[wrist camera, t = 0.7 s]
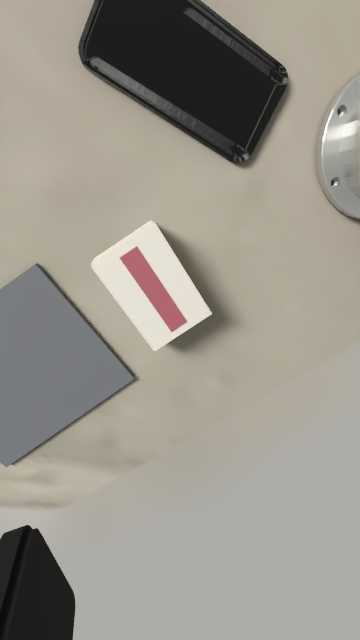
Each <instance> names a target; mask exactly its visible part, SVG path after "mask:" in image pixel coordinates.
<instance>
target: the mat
mask: <svg viewBox="0 0 360 640" xmlns="http://www.w3.org/2000/svg"><path fill="white" fill-rule="evenodd" d="M132 380H134V376H133V375H132V374H131V372H130V371H129V370H128V369H127V368H126V367H125V365H124V364H123V363H122V362H121V361H120V360H119V358H118V357H117V356H116V355H115V354H114V353H113V351H112V350H111V349H110V348H109V347H108V346H107V344H106V343H105V342H104V341H103V340H102V339H101V337H100V336H99V335H98V334H97V333H96V332H95V330H94V329H93V328H92V327H91V326H90V325H89V323H88V322H87V321H86V320H85V319H84V318H83V316H82V315H81V314H80V313H79V312H78V311H77V310H76V308H75V307H74V306H73V305H72V304H71V303H70V301H69V300H68V299H67V298H66V297H65V296H64V294H63V293H62V292H61V291H60V290H59V289H58V287H57V286H56V285H55V284H54V283H53V282H52V280H51V279H50V278H49V277H48V276H47V275H46V273H45V272H44V271H43V270H42V269H41V268H40V266H39V265H38V264H35V265H34V266H32V267H31V268H30V269H28V270H27V271H26V272H24V273H23V274H21V275H20V276H19V277H17V278H16V279H14V280H13V281H12V282H10V283H9V284H7V285H6V286H5V287H3V288H2V289H1V290H0V462H1V463H2V464H3V465H4V466H6V467H8V466H9V465H10V464H12V463H13V462H15V461H16V460H18V459H19V458H21V457H22V456H23V455H25V454H26V453H28V452H29V451H31V450H32V449H34V448H35V447H37V446H38V445H39V444H41V443H42V442H44V441H45V440H47V439H48V438H50V437H51V436H52V435H54V434H55V433H57V432H58V431H60V430H61V429H63V428H64V427H66V426H67V425H68V424H70V423H71V422H73V421H74V420H76V419H77V418H79V417H80V416H81V415H83V414H84V413H86V412H87V411H89V410H90V409H92V408H93V407H95V406H96V405H97V404H99V403H100V402H102V401H103V400H105V399H106V398H108V397H109V396H110V395H112V394H113V393H115V392H116V391H118V390H119V389H121V388H122V387H124V386H125V385H126V384H128V383H129V382H131V381H132Z"/></svg>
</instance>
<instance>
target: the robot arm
mask: <svg viewBox="0 0 360 640" xmlns="http://www.w3.org/2000/svg"><path fill="white" fill-rule="evenodd" d="M337 113H338V114H337ZM316 166H317V171H318V177H319V180H320V183H321V186H322V188H323V191H324V193H325V194H326V196H327V197H328V199H329V201H330V202H331V203H332V204H333V205H334V206H335V207H336V208H337V209H338V210H339V211H341V212H343V213H344V214H346V215H347V216H350V217H353V218H356V219H360V74H359V75H357V76H356V77H354V78H353V79H352V80H350V81H349V82H348V83H347V84H346V85H345V86H344V87H343V88H342V89H341V90H340V92H339V93H338V94H337V96H336V97H335V99H334V100H333V102H332V103H331V105H330V106H329V109H328V111H327V113H326V115H325V117H324V119H323V122H322V125H321V128H320V132H319V135H318V142H317V148H316ZM331 182H332V183H331ZM74 616H75V597H74V593H73V590H72V589H71V587H70V585H69V583H68V581H67V579H66V578H65V576H64V574H63V572H62V571H61V569H60V567H59V565H58V563H57V562H56V560H55V558H54V556H53V554H52V553H51V551H50V549H49V547H48V545H47V544H46V542H45V540H44V538H43V536H42V535H41V533H40V532H39V530H38V529H37V528H36V529H32V528H31V527H30V526H29V525H26V526H23V527H20V528H18V529H15V530H12V531H9V532H6V533H4V534H3V535H2V537H1V539H0V640H72V639H73V627H74Z"/></svg>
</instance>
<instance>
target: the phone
mask: <svg viewBox="0 0 360 640" xmlns="http://www.w3.org/2000/svg"><path fill="white" fill-rule="evenodd" d="M78 48H79V55H80V59H81V61H82V64H83V65H84V67H85V68H86V69H87V70H88V71H89V72H91V73H93V74H94V75H96V76H97V77H99V78H100V79H102V80H104V81H105V82H107V83H108V84H110V85H111V86H113V87H115V88H116V89H118V90H119V91H121V92H122V93H124V94H126V95H127V96H129V97H130V98H132V99H133V100H135V101H137V102H138V103H140V104H141V105H143V106H144V107H146V108H148V109H149V110H151V111H152V112H154V113H155V114H157V115H159V116H160V117H162V118H163V119H165V120H166V121H168V122H170V123H171V124H173V125H174V126H176V127H177V128H179V129H181V130H182V131H184V132H185V133H187V134H188V135H190V136H192V137H193V138H195V139H196V140H198V141H200V142H201V143H203V144H204V145H206V146H207V147H209V148H211V149H212V150H214V151H215V152H217V153H218V154H220V155H222V156H223V157H225V158H226V159H228V160H229V161H231V162H234V163H240V162H243V161H246V160H247V159H248V158H249V157H250V156H251V154H252V152H253V150H254V149H255V147H256V145H257V143H258V141H259V139H260V137H261V135H262V133H263V131H264V129H265V127H266V125H267V123H268V121H269V120H270V118H271V116H272V114H273V112H274V110H275V108H276V106H277V104H278V102H279V100H280V98H281V96H282V94H283V92H284V90H285V89H286V86H287V83H288V75H287V71H286V69H285V67H284V66H283V65H282V64H281V63H279V62H278V61H277V60H276V59H274V58H273V57H272V56H270V55H269V54H268V53H267V52H265V51H264V50H263V49H262V48H260V47H259V46H258V45H256V44H255V43H254V42H253V41H251V40H250V39H249V38H247V37H246V36H245V35H244V34H242V33H241V32H240V31H239V30H237V29H236V28H235V27H233V26H232V25H231V24H230V23H228V22H227V21H226V20H224V19H223V18H222V17H221V16H219V15H218V14H217V13H216V12H214V11H213V10H212V9H210V8H209V7H208V6H207V5H205V4H204V3H203V2H201V1H200V0H95V1H94V3H93V6H92V9H91V12H90V14H89V17H88V20H87V22H86V25H85V28H84V30H83V33H82V36H81V39H80V42H79V46H78Z"/></svg>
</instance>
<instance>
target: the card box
mask: <svg viewBox="0 0 360 640" xmlns="http://www.w3.org/2000/svg"><path fill="white" fill-rule="evenodd" d="M91 267H92V269H93V270H94V271H95V273H96V274H97V275H98V277H99V278H100V279H101V281H102V282H103V283H104V285H105V286H106V287H107V289H108V290H109V291H110V293H111V294H112V295H113V297H114V298H115V299H116V301H117V302H118V303H119V305H120V306H121V307H122V309H123V310H124V311H125V313H126V314H127V315H128V317H129V318H130V319H131V321H132V322H133V323H134V325H135V326H136V327H137V329H138V330H139V331H140V333H141V334H142V336H143V337H144V338H145V340H146V341H147V342H148V344H149V345H150V346H151V348H152V349H153V350H154V352H155V351H156V350H158V349H159V348H161V347H162V346H164V345H165V344H167V343H168V342H170V341H172V340H173V339H175V338H176V337H178V336H179V335H181V334H182V333H184V332H185V331H187V330H188V329H190V328H191V327H193V326H194V325H196V324H198V323H199V322H201V321H202V320H204V319H205V318H207V317H208V316H210V315H211V314H212V313H211V311H210V310H209V308H208V306H207V305H206V303H205V302H204V300H203V298H202V297H201V295H200V294H199V292H198V290H197V289H196V287H195V285H194V284H193V282H192V281H191V279H190V277H189V276H188V274H187V273H186V271H185V269H184V268H183V266H182V265H181V263H180V261H179V260H178V258H177V257H176V255H175V253H174V252H173V250H172V249H171V247H170V245H169V244H168V242H167V241H166V239H165V237H164V236H163V234H162V233H161V231H160V229H159V228H158V226H157V225H156V223H155V222H153V221H149V222H148V223H146V224H145V225H143V226H142V227H140V228H139V229H137V230H136V231H134V232H133V233H131V234H130V235H128V236H127V237H125V238H124V239H122V240H121V241H119V242H118V243H116V244H115V245H113V246H112V247H110V248H109V249H107V250H106V251H104V252H103V253H101V254H100V255H98V256H97V257H96V258H94V259H93V262H92V264H91Z"/></svg>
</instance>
